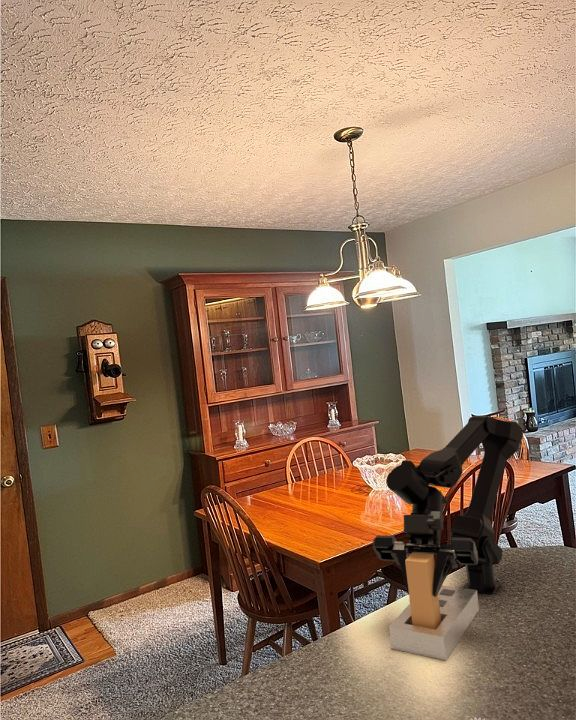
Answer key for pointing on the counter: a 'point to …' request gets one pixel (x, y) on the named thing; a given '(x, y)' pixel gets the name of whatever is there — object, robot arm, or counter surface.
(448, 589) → the white peg board
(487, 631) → the counter surface
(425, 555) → the orange post
